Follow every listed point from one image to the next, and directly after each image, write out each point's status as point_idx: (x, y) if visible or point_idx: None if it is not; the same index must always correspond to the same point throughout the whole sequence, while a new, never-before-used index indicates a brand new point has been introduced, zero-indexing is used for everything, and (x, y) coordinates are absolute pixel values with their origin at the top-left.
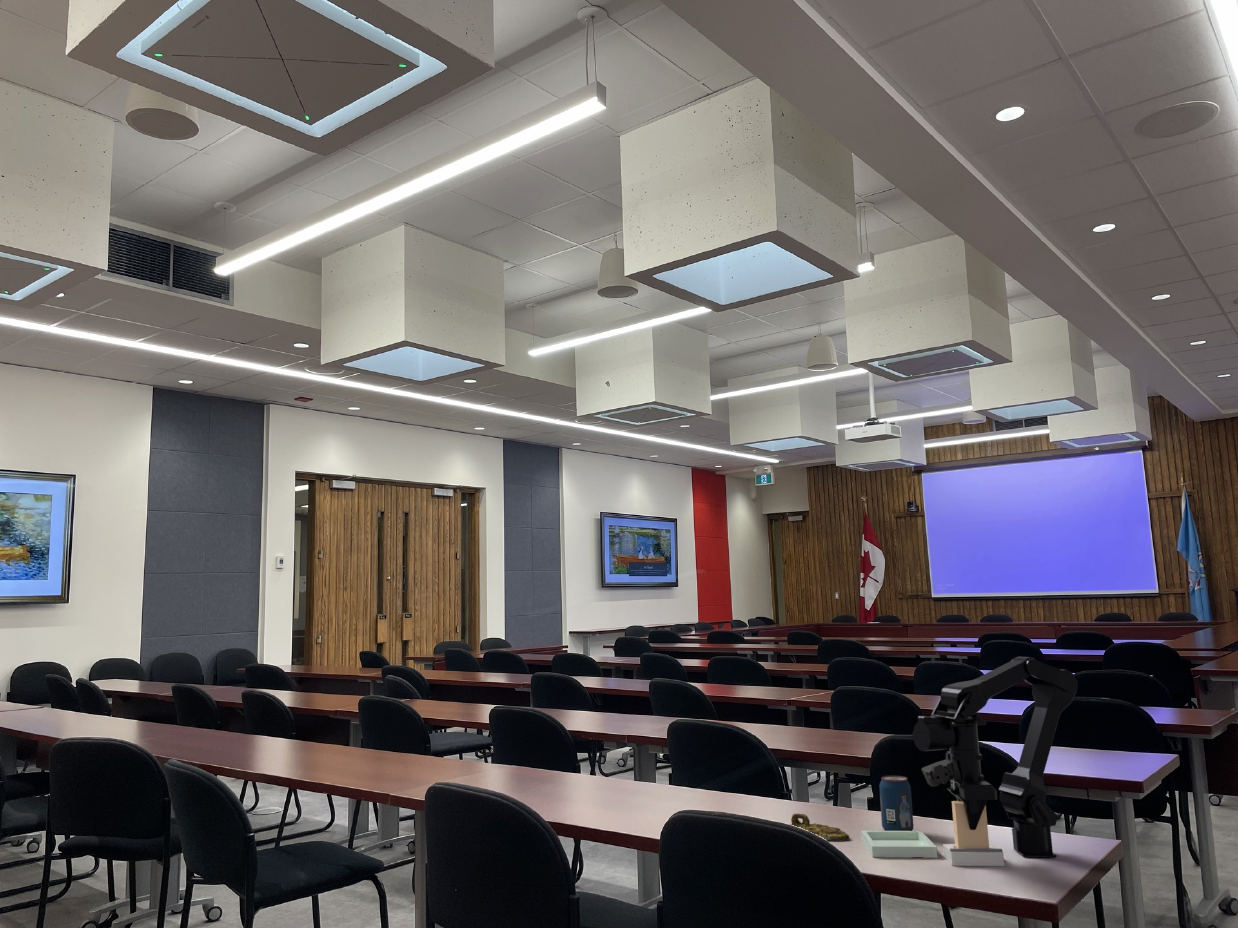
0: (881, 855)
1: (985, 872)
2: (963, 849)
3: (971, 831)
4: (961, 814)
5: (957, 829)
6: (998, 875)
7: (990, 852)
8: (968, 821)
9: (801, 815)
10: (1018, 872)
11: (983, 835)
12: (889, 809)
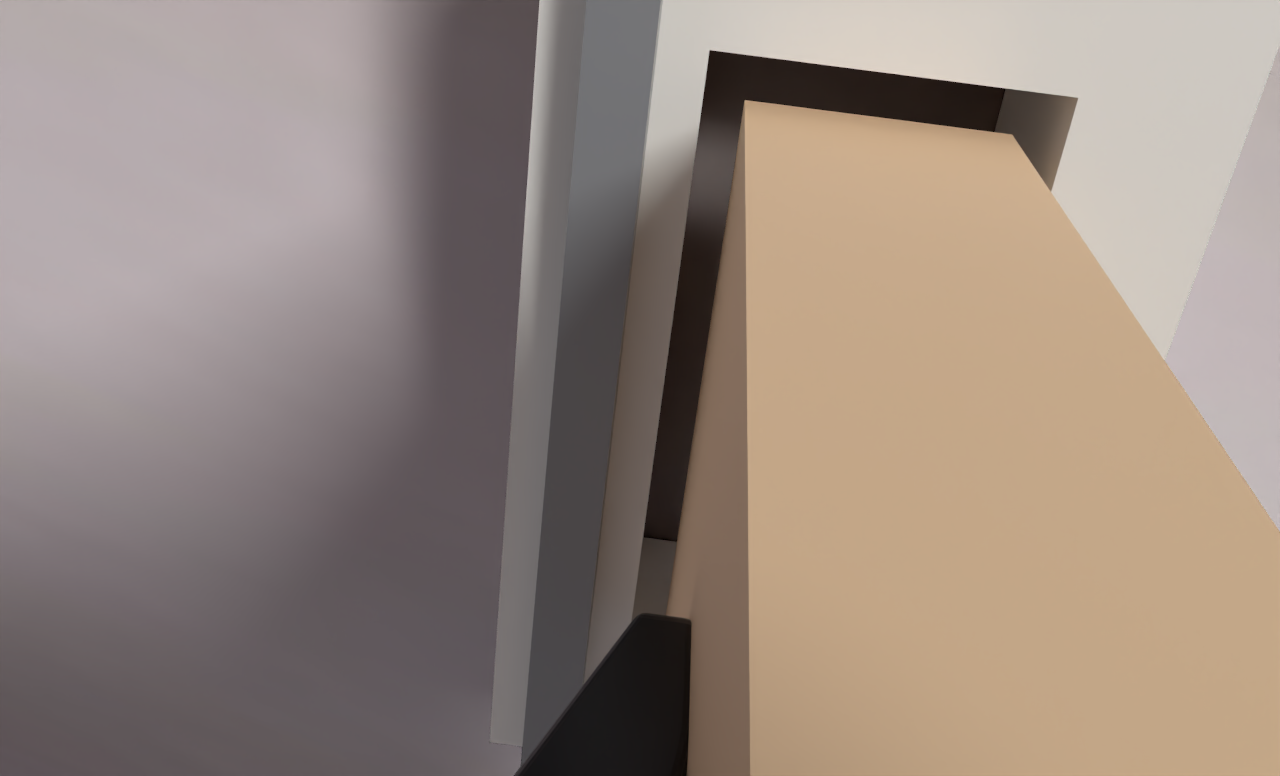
0: None
1: (187, 233)
2: (575, 160)
3: (689, 602)
4: (707, 771)
5: (741, 289)
6: (53, 348)
7: (510, 581)
8: (562, 732)
9: None
10: (231, 635)
11: None
12: None
